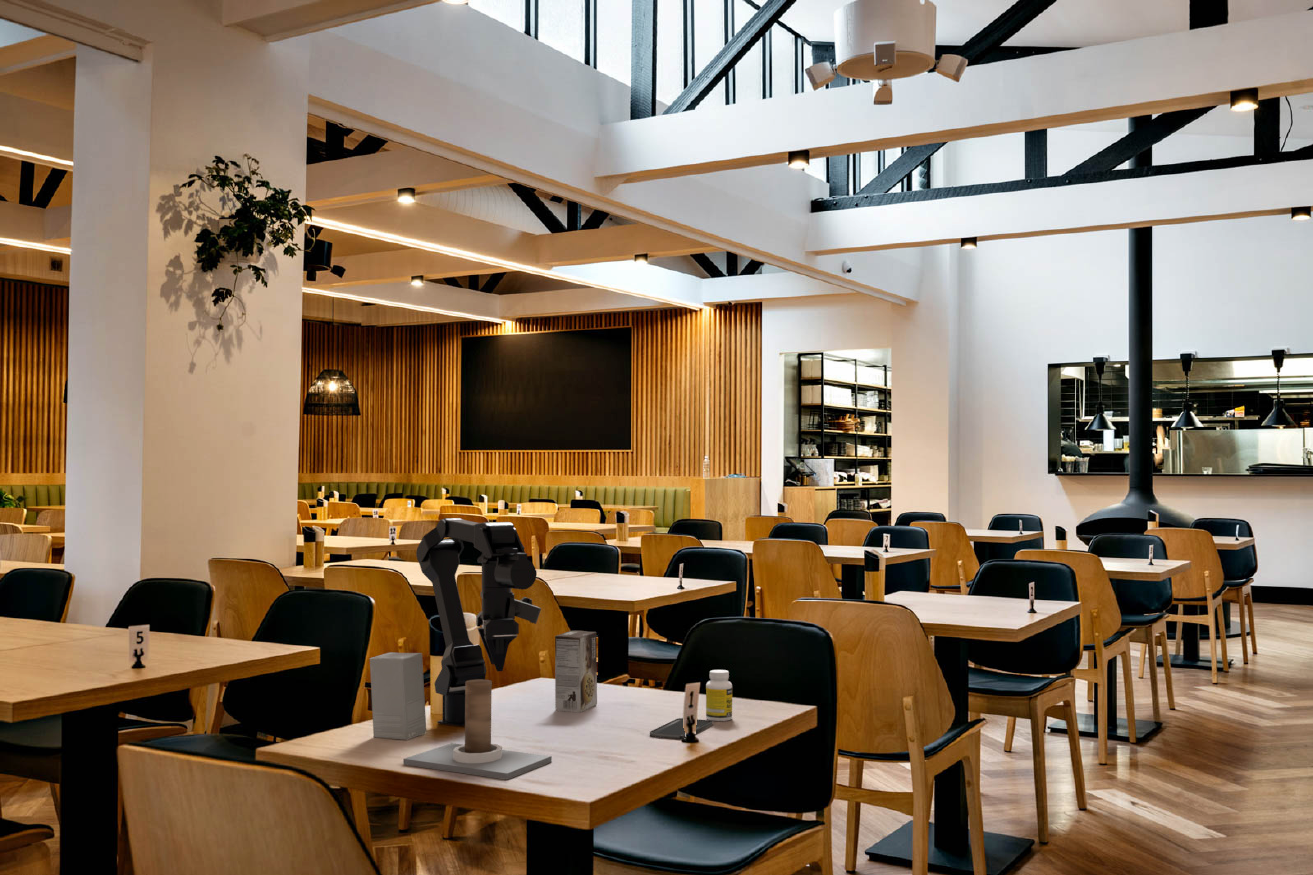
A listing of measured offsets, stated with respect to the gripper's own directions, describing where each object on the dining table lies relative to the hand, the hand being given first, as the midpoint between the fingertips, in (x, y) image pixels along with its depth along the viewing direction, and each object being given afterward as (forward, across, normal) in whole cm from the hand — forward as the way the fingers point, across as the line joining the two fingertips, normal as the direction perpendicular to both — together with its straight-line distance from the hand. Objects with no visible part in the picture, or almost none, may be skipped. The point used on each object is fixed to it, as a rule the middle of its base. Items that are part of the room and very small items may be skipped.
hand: (496, 667), depth 210 cm
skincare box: (+13, +5, +18) cm, 23 cm away
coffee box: (+13, +23, -20) cm, 33 cm away
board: (+13, -20, +6) cm, 25 cm away
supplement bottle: (+13, +2, -46) cm, 48 cm away
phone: (+14, -6, -36) cm, 39 cm away
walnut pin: (+12, -20, +6) cm, 25 cm away
